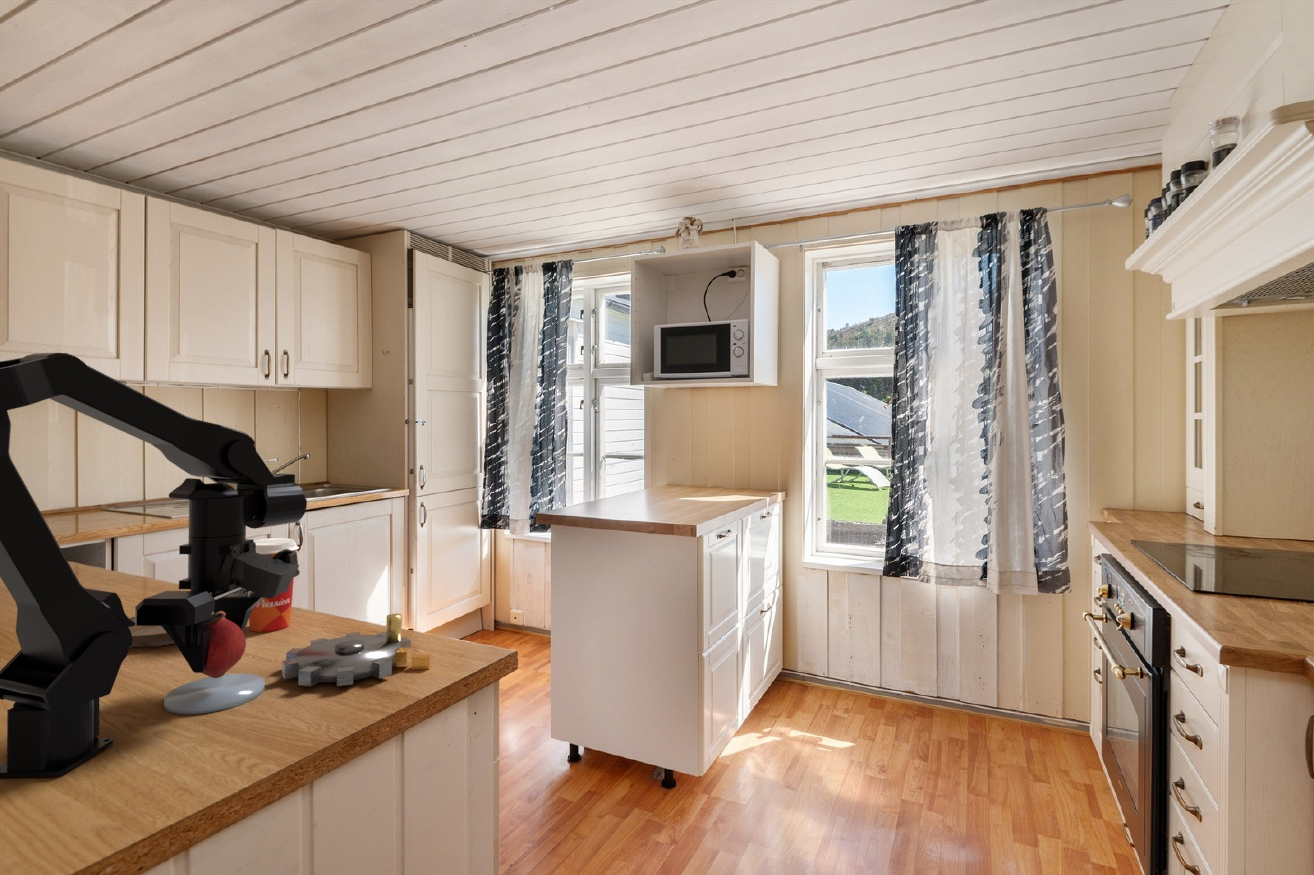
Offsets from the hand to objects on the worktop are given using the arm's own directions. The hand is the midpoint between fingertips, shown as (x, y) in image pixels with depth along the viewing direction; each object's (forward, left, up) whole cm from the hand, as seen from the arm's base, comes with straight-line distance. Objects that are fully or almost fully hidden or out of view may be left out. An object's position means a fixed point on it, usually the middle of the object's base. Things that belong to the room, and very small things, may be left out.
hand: (215, 662), depth 77 cm
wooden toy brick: (+9, -15, -4) cm, 18 cm away
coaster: (0, 0, -4) cm, 4 cm away
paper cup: (+27, +8, -4) cm, 29 cm away
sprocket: (+9, -12, -4) cm, 16 cm away
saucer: (+23, +21, -5) cm, 31 cm away
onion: (0, 0, -2) cm, 2 cm away
